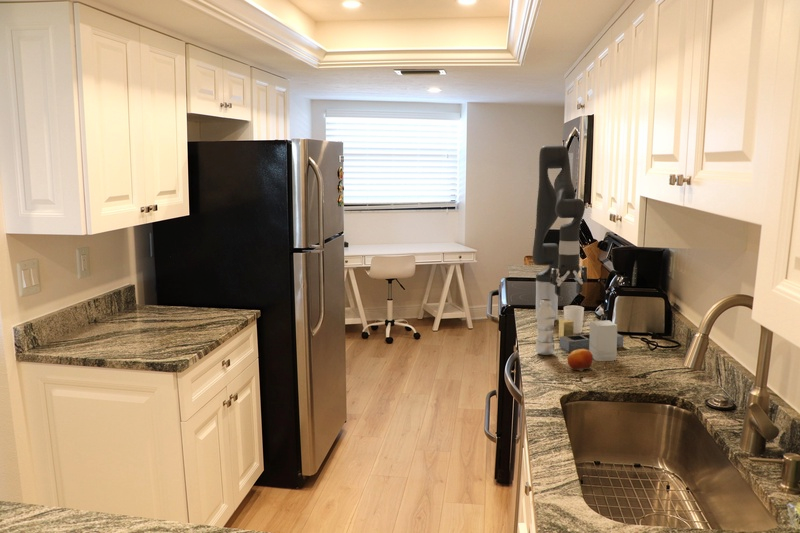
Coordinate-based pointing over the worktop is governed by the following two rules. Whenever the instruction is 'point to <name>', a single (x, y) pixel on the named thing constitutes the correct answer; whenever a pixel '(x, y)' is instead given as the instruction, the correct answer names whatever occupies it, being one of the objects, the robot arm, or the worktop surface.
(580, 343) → the gray compartment tray
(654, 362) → the worktop surface
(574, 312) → the white cup
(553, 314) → the plastic bottle
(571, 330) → the pale yellow block
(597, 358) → the supplement box
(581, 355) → the fruit
